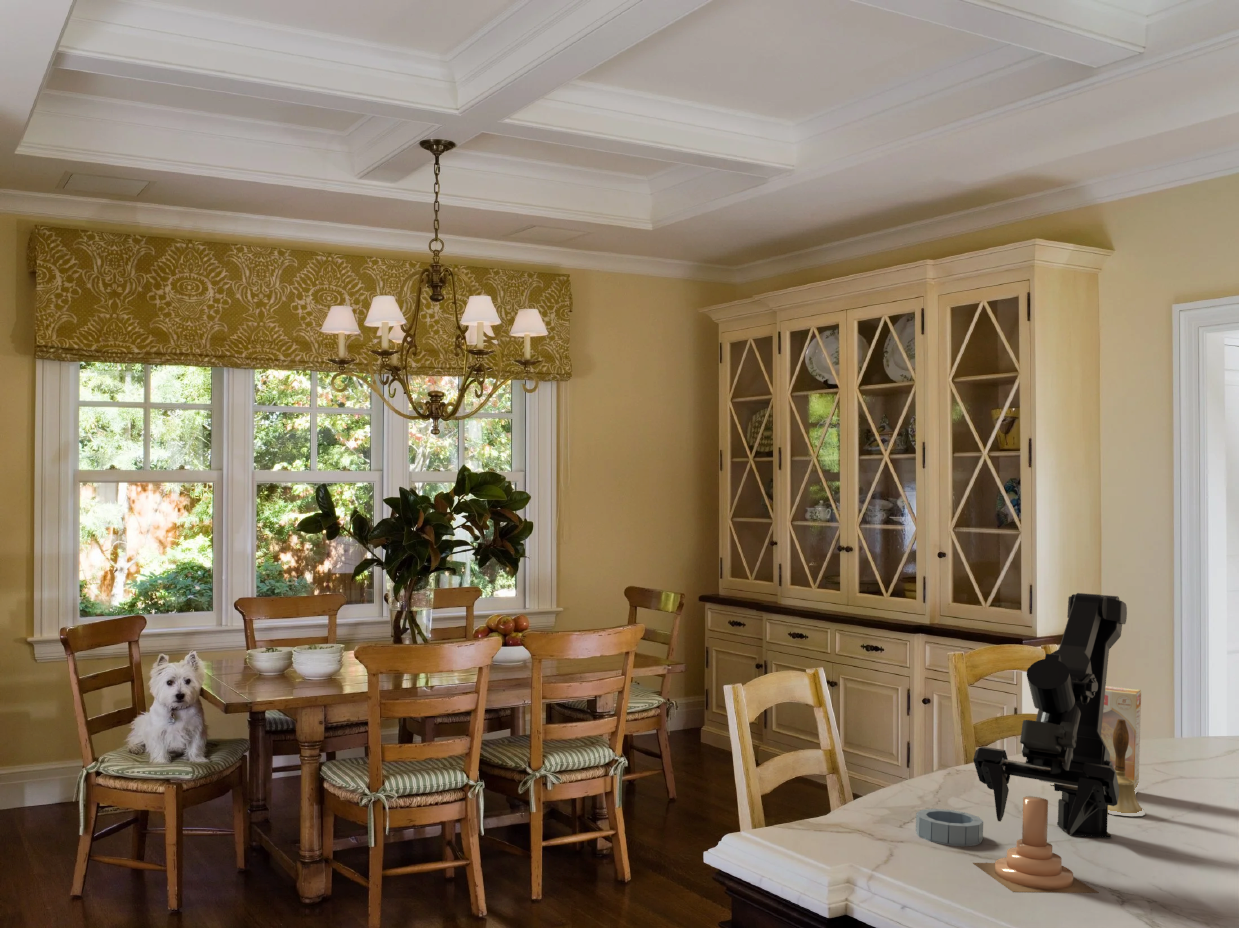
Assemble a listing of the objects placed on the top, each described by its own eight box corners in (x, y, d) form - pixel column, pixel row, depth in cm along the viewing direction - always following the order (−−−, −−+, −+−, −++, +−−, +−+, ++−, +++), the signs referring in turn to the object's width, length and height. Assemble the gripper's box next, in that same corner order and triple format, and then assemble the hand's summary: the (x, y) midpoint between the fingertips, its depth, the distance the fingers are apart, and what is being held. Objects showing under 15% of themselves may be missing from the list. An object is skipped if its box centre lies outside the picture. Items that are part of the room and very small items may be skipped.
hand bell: (1084, 804, 195) (1086, 714, 196) (1129, 806, 195) (1131, 716, 196) (1109, 817, 186) (1111, 723, 187) (1155, 818, 187) (1157, 725, 188)
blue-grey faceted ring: (972, 833, 172) (972, 811, 172) (989, 851, 162) (990, 827, 162) (910, 829, 172) (911, 807, 172) (924, 847, 163) (925, 823, 163)
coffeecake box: (1049, 785, 209) (1051, 683, 210) (1055, 779, 215) (1058, 679, 216) (1134, 799, 201) (1137, 692, 202) (1139, 792, 207) (1141, 688, 208)
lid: (1057, 868, 153) (1059, 792, 154) (1084, 891, 143) (1086, 811, 144) (986, 863, 154) (988, 788, 155) (1007, 886, 144) (1009, 806, 145)
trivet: (1052, 868, 155) (1052, 863, 155) (1099, 897, 143) (1099, 892, 144) (972, 867, 154) (972, 862, 154) (1012, 896, 142) (1013, 891, 142)
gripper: (979, 690, 159) (953, 778, 149) (1117, 707, 148) (1099, 804, 139) (992, 737, 165) (968, 826, 155) (1126, 757, 154) (1109, 853, 145)
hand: (1033, 826), depth 148 cm, fingers open, 9 cm apart
